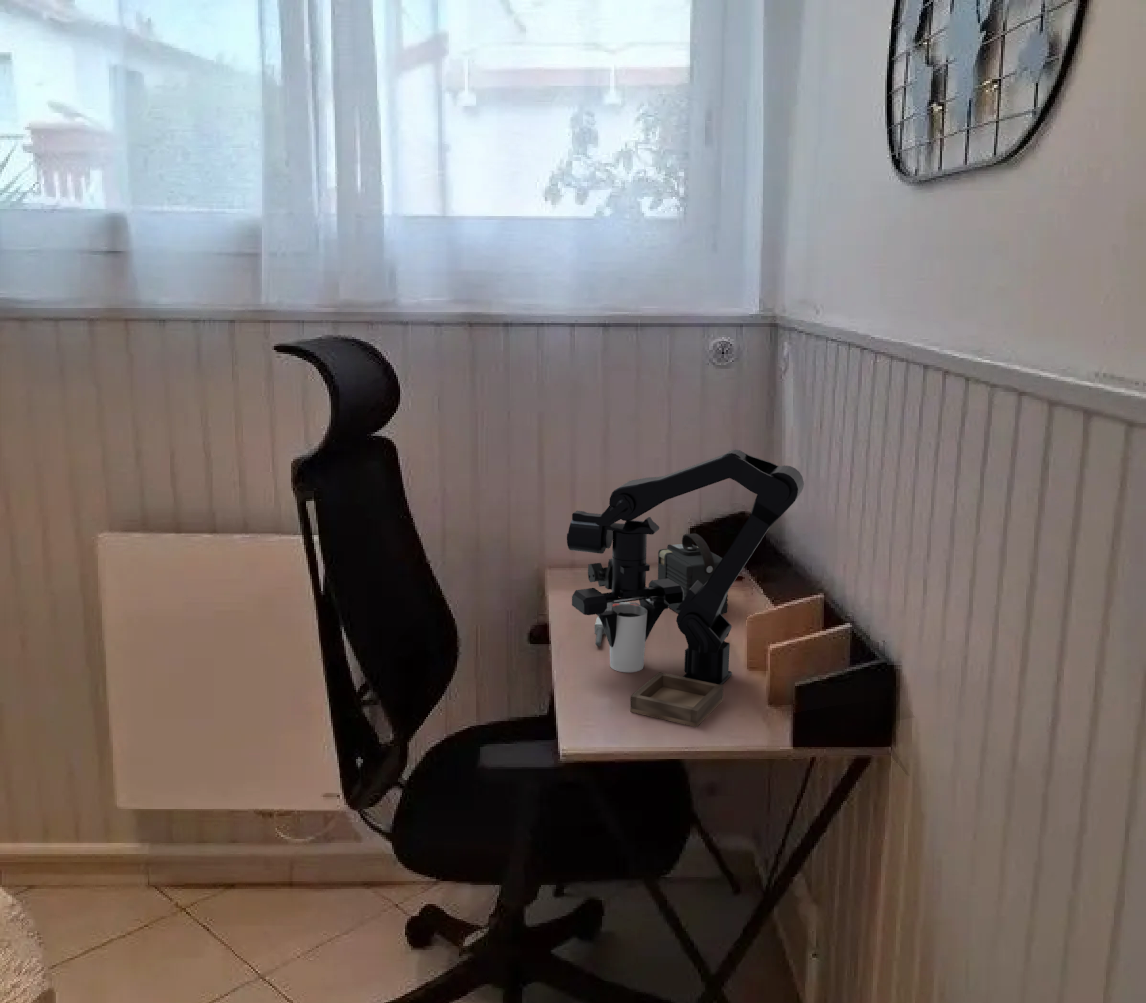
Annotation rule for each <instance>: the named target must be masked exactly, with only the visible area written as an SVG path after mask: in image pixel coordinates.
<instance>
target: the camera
mask: <svg viewBox="0 0 1146 1003" xmlns="http://www.w3.org/2000/svg"><path fill="white" fill-rule="evenodd" d="M692 541H693V542H694V543H695V544H693V542H692ZM657 554H658V555H657V557H658V558H657V561H658V562H657V580H659V579H667V578H668V579H670V580H672V581H674V582H675V583H677V584H679V585H680V586H681V587H682V588H683V590H684V599H685V597H686V595H687V593H688V591H689V589H690V588H691V587H692V586H693V585H694V583H695V582H696V581H697V580H698V581H700V582H701V583H702V584H703V585H704V584H705V583H706V582H707V581H708V580H709V578H710V577H711V575H712V574H713V572H714V571H715V569H716V568H717V566H718V564H719V563H720V561H721V560H722V558H723V557H721V556H719V554H718V555H717V554H716V553H714V552H712V551H711V549H710V547H709V545H708V543H707V542H706V541H705V539H704V538H703V537H702V536H701V535H700V534H698V533H686V534H683V536H682V540H681V543H679V544H678V543H677V544H676V543H675V544H667V547H666V548H661V549H659V550H658V552H657ZM728 598H729V592H728V593H727V596H726V599H725V602H724V605H723V607H722V610H721V612H720V613H721V614H722V615H725V614H727V613H728V611H729V610H728V608H729V605H728V601H729V599H728ZM665 603H666V604H667V605H668V608H670V609H671V610H672V611H674V612H675V613H677V614H678V613H679V612H680V611H679V610H677V607H678V606H679V605H680V604H681V603H682V602H681V603H674V604H668V603H667V602H666V601H665Z"/></svg>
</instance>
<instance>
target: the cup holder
mask: <svg viewBox="0 0 1146 1003" xmlns="http://www.w3.org/2000/svg"><path fill="white" fill-rule="evenodd" d="M723 697H724V685H723V684H722V685H719V684H714V683H709V682H705V681H700V680H695V679H690V678H686V677H683V676H681V675H676V674H671V673H665V672H662V671H660V672H658V673H657V674H655V675H654V676H653V677H652V678H651V679H650V680H648V681H647V682H646V683H645V684H643V685H642V686H641V687H640V688H638V689H637V690H636V691H635V692H634V693H632V694H631V695H630V699H629V700H630V703H629V704H630V706H629V708H630V709H629V710H630V713H635V714H639V715H644V716H646V717H650V718H651V717H652V718H655V719H660V720H665V721H668V722H669V721H670V722H673V723H678V724H680V725H685V724H686V725H685V726H691V727H694V728H698V726H699V725H700V724H701V723H702V722H703V721H704V720H705V719H706V718H707V717H708V716H709V715H710V714H711V713H712V712H713V711H714V710H716V708H717V707H718V706H719V705H720V704H721V703H723V701H724V700H723Z"/></svg>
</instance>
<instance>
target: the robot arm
mask: <svg viewBox="0 0 1146 1003" xmlns="http://www.w3.org/2000/svg"><path fill="white" fill-rule="evenodd" d="M728 479H730V480H732V481H735V482H736V483H738V484H739V485H741V486H743V487H744V488H745V489H747V490H748V491H749V492H752V493H753V494H756V497H755V499H754V502H753V505H752V509H751V512H750V514H749V516H748V517H747V520H746V521H745V523H744V524H743V525H742V527H741V529H740V530H739V532H738V534H737V535H736V537H735V538H734V540H733V541H732V543H731V544H730V545H729V547H728V549H727V551H726V552H725V554H724V555H723V557H721V558H722V560H721V561H720V563H719V564H718V566H717V568H716V569H715V571H714V572H713V574H712V575H711V577H710V578H709V580H708V581H707V582H706V583H705V584H704V585H703V584H702V583H701V582H700V581H698V580H697V581H696V582H695V583H694V585H693V586H692V587H691V588H690V589H689V591H688V593H687V595H686V597H685V599H684V590H683V588H682V587H681V586H680V585H679V584H677V583H675V582H674V581H672V580H670V579H668V578H667V579H659V580H658V579H654V580H653V579H652V580H650V582H648V587H647V586H646V584H647V582H646V580H647V578H646V577H647V574H646V573H647V572H649V571H651V570H650V566H651V565H650V564H649V563H647V542H648V541H647V538H648V535H651V536H653V535H654V534H656V533H657V531H659V530H660V526H659V524H657V523H656V522H654V520H653V519H652V518H651V516H648V517H646V518H645V519H644V520H635V519H636V518H638V517H640V516H642V515H644V514H645V513H647V512H649V511H651V510H652V509H654V508H656V507H657V506H659V505H660V504H662V503H664V502H666V501H668V500H670V499H673V498H676V497H679V496H682V495H684V494H687V493H691V492H693V491H696V490H698V489H703V488H705V487H708V486H710V485H714V484H716V483H719V482H722V481H724V480H728ZM804 487H805V482H804V476H803V475H802V474H801V472H800V471H799V470H798V469H797V468H796V467H793V466H791V465H781V466H780V465H777V464H775V463H773V462H771V461H768V460H765V459H762V458H759V457H756V456H753V455H750V454H748V453H745V452H743V451H742V450H741V449H736V448H735V449H731V450H728V452H725V453H724V454H721V455H718V456H715V457H713V458H710V459H707V460H704V461H701V462H700V463H696V464H693V465H690V466H688V467H685V468H683V469H680V470H677V471H674V472H671V473H669V474H665V475H663V476H653V477H652V476H651V477H650V476H649V477H643V478H637V479H631V480H628V481H626V482H625V483H623V484H621V485H620V486H618V487H617V488H616V489H614V490H613V491H612V492H611V494H610V497H609V503H608V504H609V505H608V507H607V508H606V509H605V510H604V511H603V512H602V513H595V512H594V513H592V512H586V511H584V510H576V511H574V512H572V514H571V521H570V524H569V527H568V532H567V533H566V544H567V548H568V549H569V551H573V552H574V551H575V552H584V553H592V554H599V555H600V554H604V553H605V551H606V550H607V549H610V548H611V547H612V557H611V558H609V559H608V562H607V566H606V567H603V566H602V563H601V562H597V563H596V562H595V563H589V564H588V567H587V577H588V581H589V583H598V587H599V588H600V587H604V588H605V589H607V590H611V591H609V592H603V593H602V592H601V591H599V590H598V589H596V587H588V588H583V589H575V591H574V592H573V594H572V595H571V606H572V607H573V608H575V609H576V610H578V612H580V613H581V614H583V615H585V616H593V615H596V616H597V617H599V618H600V620H601V622H602V625H603V628H604V631H605V634H604V635H605V636H606V640H607V643H608V644H609V645H608V646H609V647H610V646H611V647H613V646H614V642H615V638H616V624H617V613H616V612H615V611H613V604H614V603H621V602H635V601H639V605H640V606H641V607H644V608H645V609H646V610H647V624H646V637H645V642H646V641H647V640H648V637H649V635H650V633H651V631H652V629H653V628H654V626H655V624H656V622H657V621H658V619H659V618H660V616H661V615H662V614H663V612H664V610H668V609H669V607H668V605H667V604H666V603H665V601H666V602H667V603H668V604H674V603H681V602H682V603H681V604H680V605H679V606H678V607H677V610H679V611H680V612H679V613H677V616H676V620H675V621H676V624H677V627H678V629H679V631H680V632H681V634H683V635H684V637H685V640H686V643H687V648H686V649H685V650H684V669H683V670H684V675H683V676H682V677H686V678H690V679H695V680H700V681H705V682H709V683H714V684H719V685H723V684H724V683H725V682H726V681H727V680H728V679H729V678H730V677H732V675H733V671H730V669H729V666H730V646H731V643H730V642H727V641H725V640H726V638H728V636H729V634H730V632H731V631H732V630H731V629H732V627H733V626H732V624H731V623H730V622H729V621H728V620H727V619H726V617H725V616H724V614H721V613H720V612H721V610H722V607H723V605H724V602H725V599H726V596H727V593H728V594H729V591H730V589H731V588H732V585H733V584H734V583H735V581H736V579H737V578H738V577H739V575H740V574H741V572H742V570H743V568H744V567H745V566H746V564H747V563H748V561H749V559H750V558H751V557H752V555H753V554H754V552H755V550H756V549H757V548H758V546H759V544H760V543H761V542H762V540H763V538H764V536H765V535H766V533H767V532H768V530H769V529H770V528H771V526H772V525H774V524H775V523H776V522H777V521H778V520H779V519H780V518H781V517H782V516H783V515H784V513H785V512H786V511H787V510H788V509H789V508H790V507H791V506H793V504H794V503H795V502H796V500H797V499H798V497H799V496H800V494H801V493H802V492H803V490H804ZM620 520H621V521H622V522H623V521H624V523H618V522H619V521H620Z"/></svg>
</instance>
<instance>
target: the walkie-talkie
mask: <svg viewBox="0 0 1146 1003" xmlns="http://www.w3.org/2000/svg"><path fill="white" fill-rule="evenodd" d="M624 604H628V605H637V606H640V603H638V602H632V601H629V602H621V603H614V604H613V606H616V605H624ZM594 634H595V635H596V636H595V645H596V646H597V647H601V645H602V641H603V640H602V639H603V635H606V634H605V631H604V628H603V625H602V622H601V620H600V618H599V616H597V617H596V620H595V623H594Z"/></svg>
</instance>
